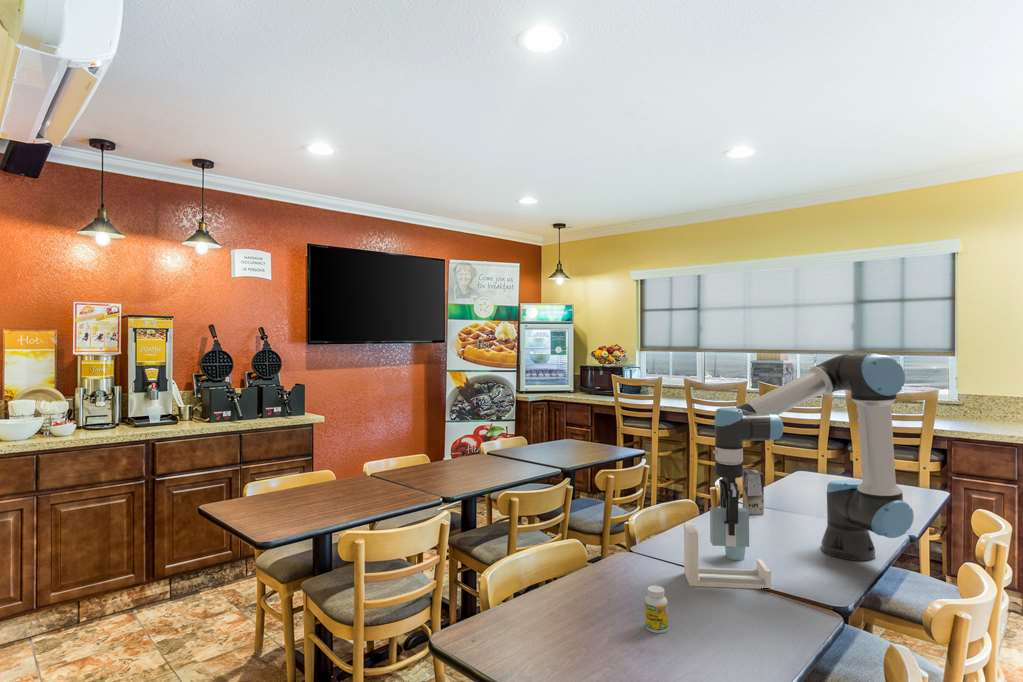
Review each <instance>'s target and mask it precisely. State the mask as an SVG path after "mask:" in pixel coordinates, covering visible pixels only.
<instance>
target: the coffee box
mask: <svg viewBox="0 0 1023 682" xmlns="http://www.w3.org/2000/svg"><path fill="white" fill-rule="evenodd" d="M741 479H742V481H741V482H742V483H741V485H742V488H741V489H742V508H746V509H747V510H748V511H749V515H763V516H764V514H765V511H764V510H765V507H764V506H765V502H764V501H765V499H764V498H765V497H764V496H765V495H764V492H765V490H764V489H765V488H764V486H765V484H764V483H765V479H764V473H763V472H761V471H760V470H759V469H757V468H743V476H742V477H741Z"/></svg>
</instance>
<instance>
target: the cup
mask: <svg viewBox="0 0 1023 682" xmlns="http://www.w3.org/2000/svg"><path fill="white" fill-rule="evenodd" d="M724 550H725V557H726V558H727V559H729V560H733V561H743V560H745V557H746V547H737V546H736V547H735V546H724Z"/></svg>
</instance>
